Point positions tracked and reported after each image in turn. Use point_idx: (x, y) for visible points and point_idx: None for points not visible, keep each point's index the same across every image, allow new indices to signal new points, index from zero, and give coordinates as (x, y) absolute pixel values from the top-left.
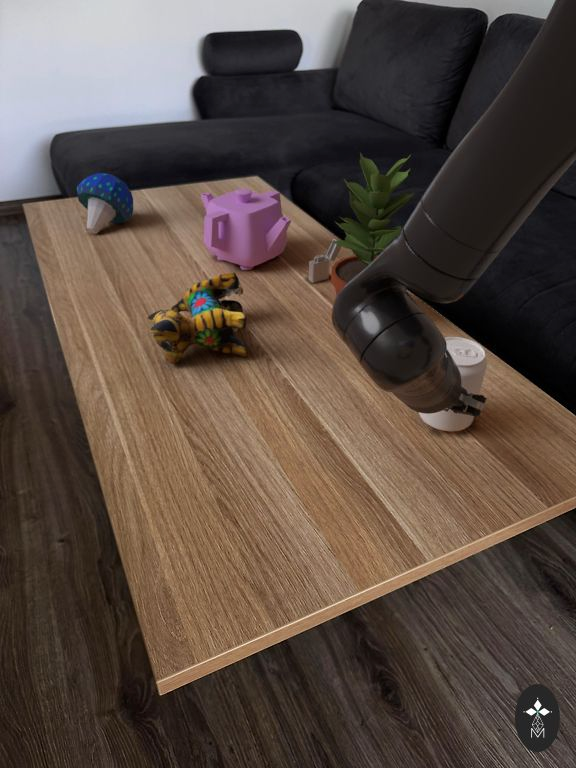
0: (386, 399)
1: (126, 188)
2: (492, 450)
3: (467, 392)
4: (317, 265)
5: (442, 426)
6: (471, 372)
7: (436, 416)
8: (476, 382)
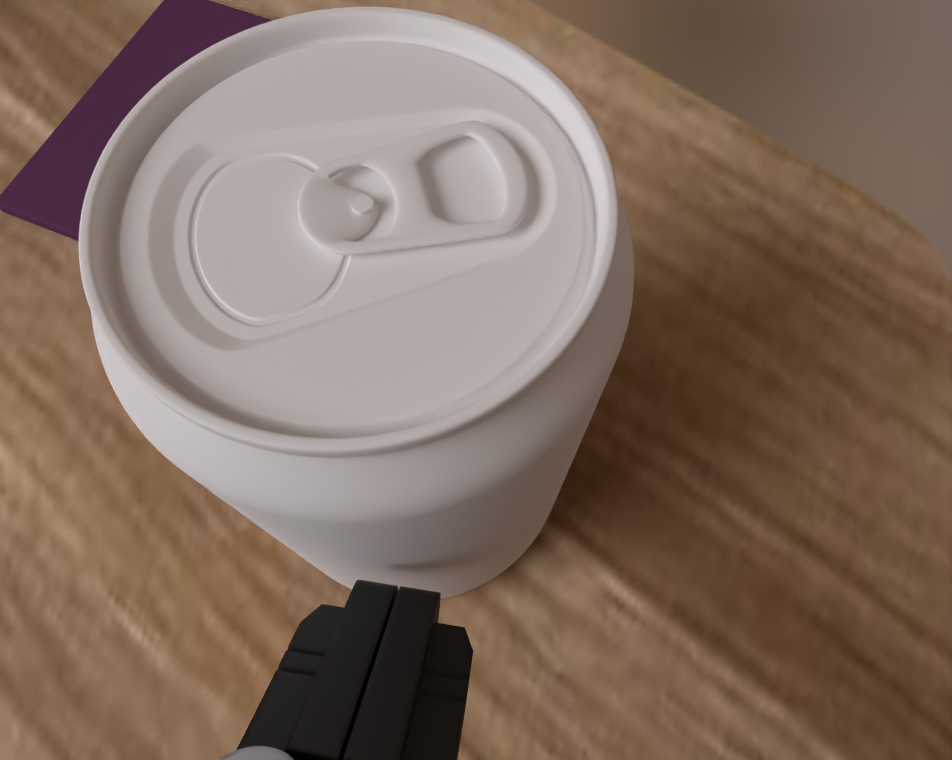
0: (101, 449)
1: None
2: (706, 618)
3: (530, 501)
4: None
5: None
6: (541, 434)
7: None
8: (585, 427)
